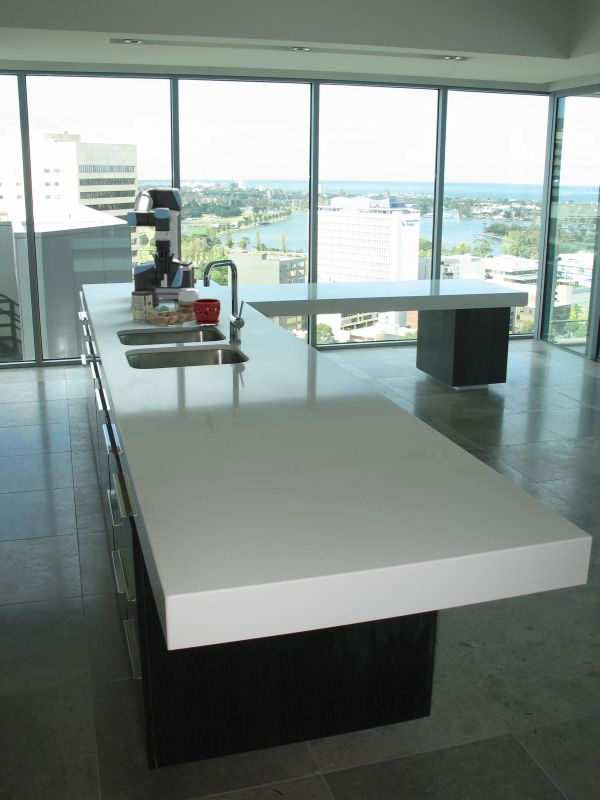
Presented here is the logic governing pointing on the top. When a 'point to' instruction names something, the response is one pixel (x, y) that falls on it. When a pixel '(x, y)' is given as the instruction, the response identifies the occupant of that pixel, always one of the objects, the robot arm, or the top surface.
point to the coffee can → (141, 304)
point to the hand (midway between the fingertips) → (164, 286)
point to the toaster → (187, 282)
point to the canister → (187, 299)
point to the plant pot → (206, 311)
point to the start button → (164, 308)
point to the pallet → (168, 317)
